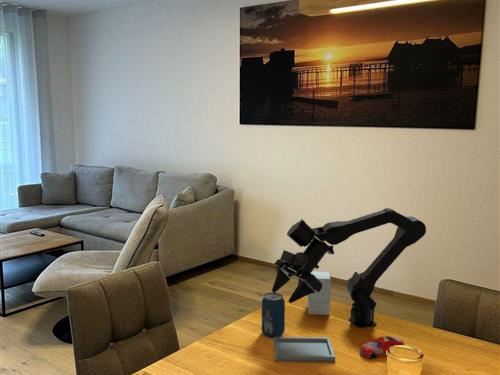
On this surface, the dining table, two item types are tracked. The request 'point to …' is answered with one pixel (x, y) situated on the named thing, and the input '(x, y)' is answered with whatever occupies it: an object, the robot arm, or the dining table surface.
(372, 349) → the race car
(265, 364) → the dining table surface
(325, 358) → the tray
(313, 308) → the supplement box
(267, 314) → the soda can
